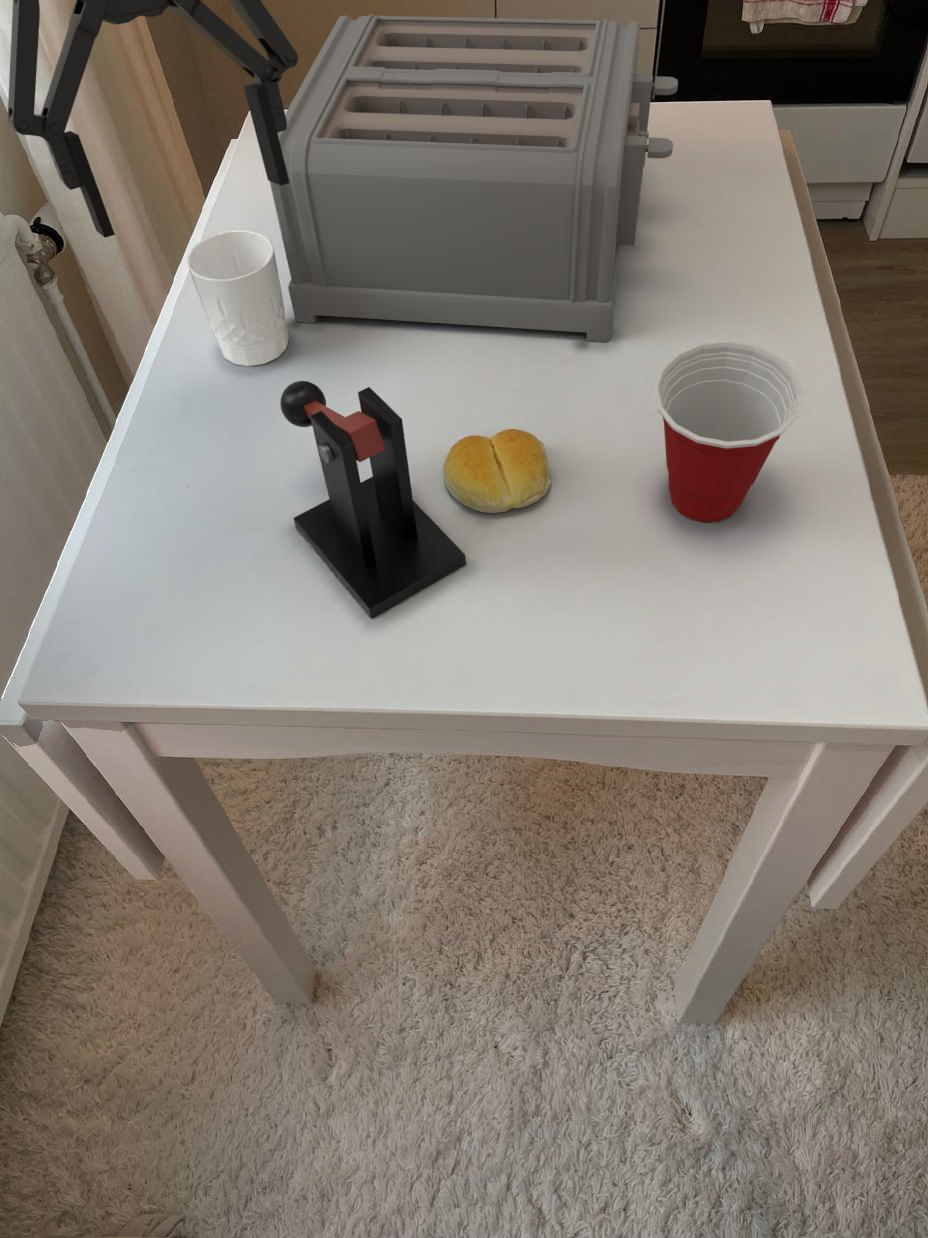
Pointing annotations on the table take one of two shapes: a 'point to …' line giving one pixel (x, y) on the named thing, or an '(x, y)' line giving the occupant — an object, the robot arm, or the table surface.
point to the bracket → (374, 517)
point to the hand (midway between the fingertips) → (195, 206)
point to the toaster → (467, 171)
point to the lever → (331, 418)
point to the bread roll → (497, 471)
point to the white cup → (241, 295)
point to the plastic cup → (722, 421)
